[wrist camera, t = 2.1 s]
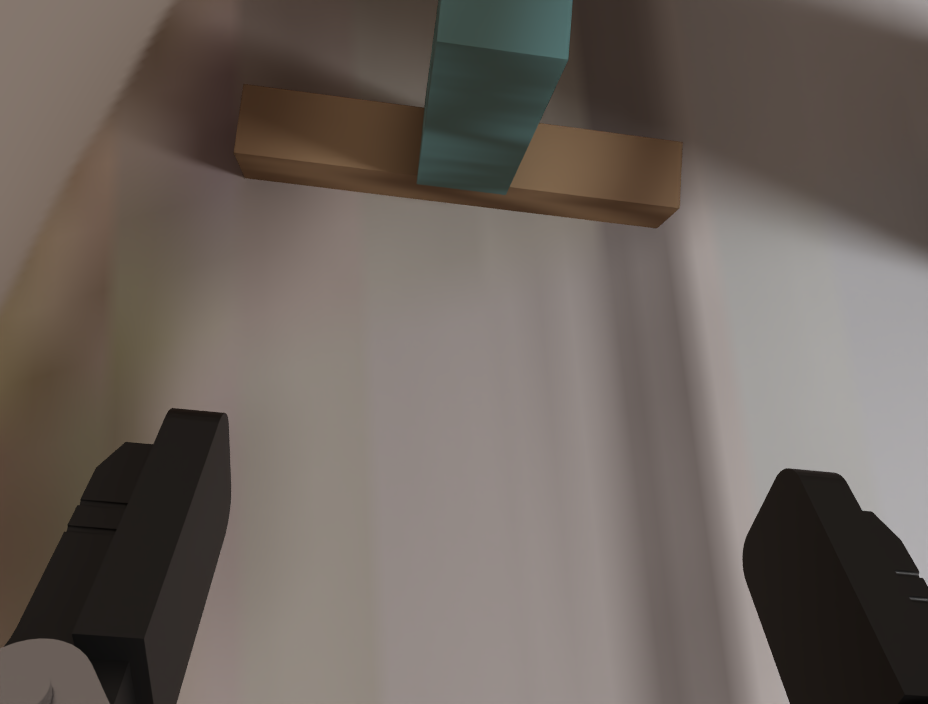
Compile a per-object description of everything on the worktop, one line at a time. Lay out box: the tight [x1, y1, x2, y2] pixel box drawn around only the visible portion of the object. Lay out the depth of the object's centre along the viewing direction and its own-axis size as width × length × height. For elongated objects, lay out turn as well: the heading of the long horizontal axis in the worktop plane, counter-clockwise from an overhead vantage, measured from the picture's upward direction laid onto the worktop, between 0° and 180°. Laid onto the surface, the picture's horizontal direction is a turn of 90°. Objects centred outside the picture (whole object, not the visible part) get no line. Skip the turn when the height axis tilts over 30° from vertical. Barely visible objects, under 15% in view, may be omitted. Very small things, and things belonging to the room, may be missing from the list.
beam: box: [234, 0, 683, 228], centre depth 24 cm, size 15×3×11 cm, turn 85°
